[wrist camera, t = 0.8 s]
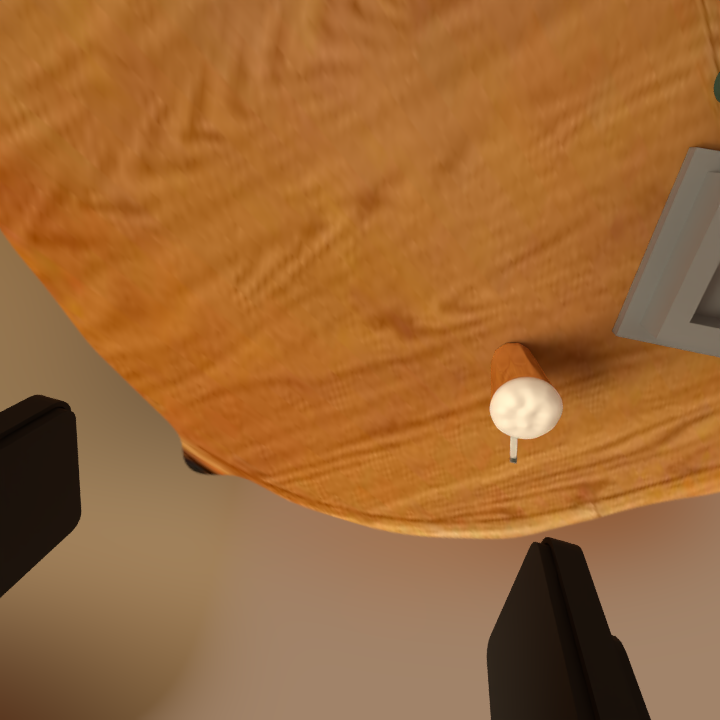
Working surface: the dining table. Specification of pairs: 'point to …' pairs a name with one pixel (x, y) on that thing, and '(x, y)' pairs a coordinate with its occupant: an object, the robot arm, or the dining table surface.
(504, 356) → the milkshake
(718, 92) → the mount
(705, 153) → the socket
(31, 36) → the dining table surface
